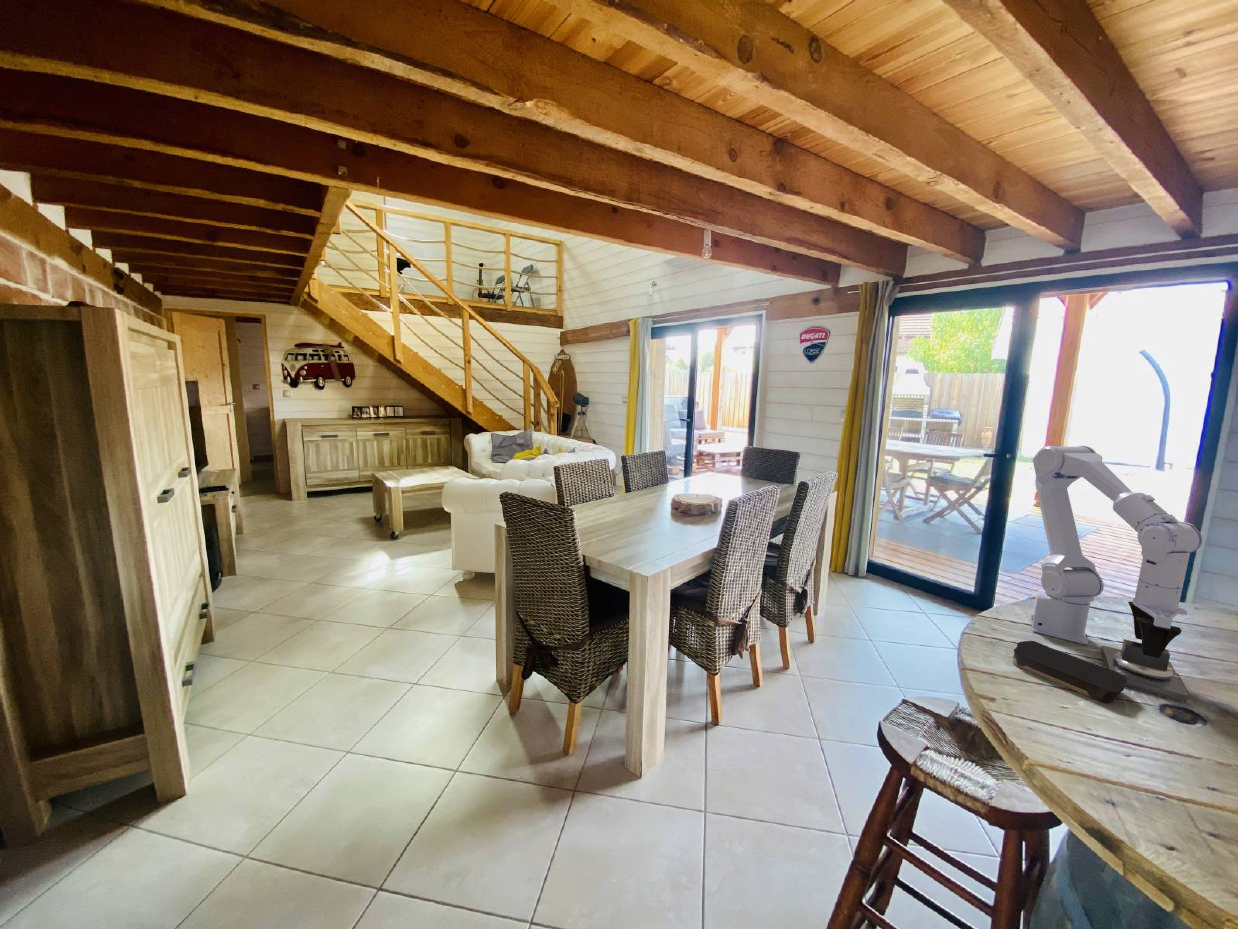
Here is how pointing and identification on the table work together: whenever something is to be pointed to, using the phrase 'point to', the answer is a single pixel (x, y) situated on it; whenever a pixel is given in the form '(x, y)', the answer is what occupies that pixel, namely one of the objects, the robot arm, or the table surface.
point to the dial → (1143, 661)
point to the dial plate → (1147, 679)
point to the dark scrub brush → (1069, 671)
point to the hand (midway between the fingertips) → (1146, 647)
